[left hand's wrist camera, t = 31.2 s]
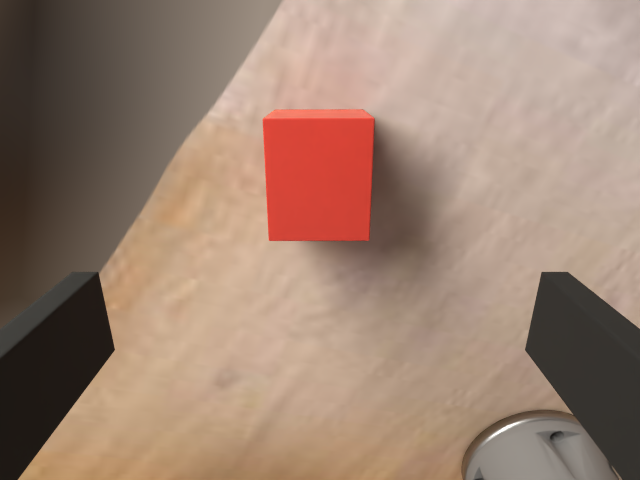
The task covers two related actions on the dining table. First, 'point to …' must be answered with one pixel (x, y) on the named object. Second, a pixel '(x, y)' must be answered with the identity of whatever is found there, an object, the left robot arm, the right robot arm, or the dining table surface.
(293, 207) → the cube
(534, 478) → the left robot arm
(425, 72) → the dining table surface
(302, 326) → the dining table surface
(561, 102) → the dining table surface
